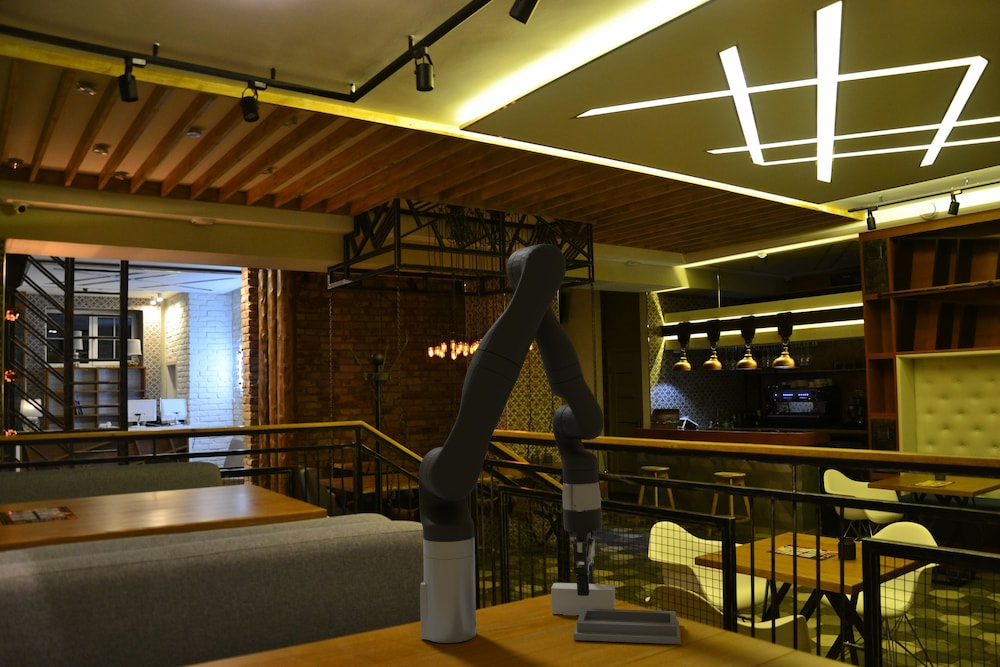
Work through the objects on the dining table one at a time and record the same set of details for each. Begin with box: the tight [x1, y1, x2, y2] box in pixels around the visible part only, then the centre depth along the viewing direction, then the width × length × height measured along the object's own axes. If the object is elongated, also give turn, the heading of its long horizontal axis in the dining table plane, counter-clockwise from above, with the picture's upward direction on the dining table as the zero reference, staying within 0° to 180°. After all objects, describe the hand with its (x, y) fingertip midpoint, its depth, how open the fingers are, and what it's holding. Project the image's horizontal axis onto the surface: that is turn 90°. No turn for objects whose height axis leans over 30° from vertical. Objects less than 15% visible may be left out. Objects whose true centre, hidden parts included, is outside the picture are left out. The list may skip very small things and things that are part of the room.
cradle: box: [573, 608, 682, 645], centre depth 137 cm, size 12×18×2 cm, turn 79°
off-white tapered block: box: [550, 582, 616, 616], centre depth 151 cm, size 4×12×5 cm, turn 79°
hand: (585, 589), depth 151 cm, fingers open, 8 cm apart
